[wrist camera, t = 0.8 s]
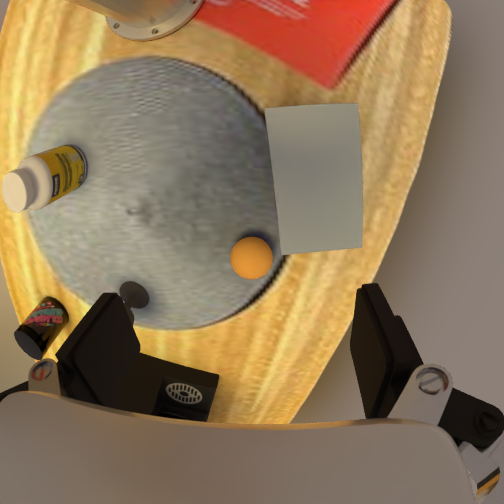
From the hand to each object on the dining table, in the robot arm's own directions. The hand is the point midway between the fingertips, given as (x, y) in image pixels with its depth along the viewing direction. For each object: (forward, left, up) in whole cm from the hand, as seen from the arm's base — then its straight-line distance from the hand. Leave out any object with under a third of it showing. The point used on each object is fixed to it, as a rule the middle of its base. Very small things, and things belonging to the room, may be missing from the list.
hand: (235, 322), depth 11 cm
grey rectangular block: (-1, +6, -25) cm, 25 cm away
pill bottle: (-6, -25, -25) cm, 36 cm away
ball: (+9, -2, -22) cm, 24 cm away
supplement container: (+18, -41, -25) cm, 51 cm away
